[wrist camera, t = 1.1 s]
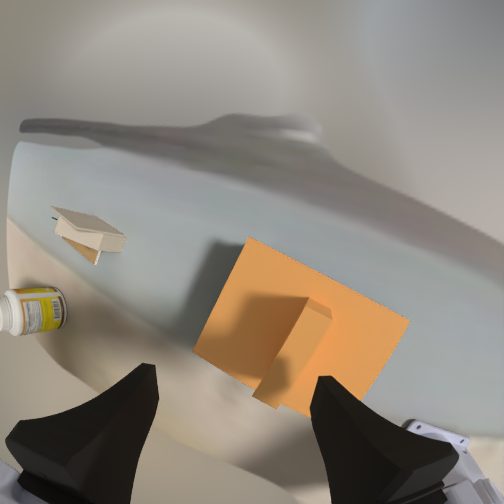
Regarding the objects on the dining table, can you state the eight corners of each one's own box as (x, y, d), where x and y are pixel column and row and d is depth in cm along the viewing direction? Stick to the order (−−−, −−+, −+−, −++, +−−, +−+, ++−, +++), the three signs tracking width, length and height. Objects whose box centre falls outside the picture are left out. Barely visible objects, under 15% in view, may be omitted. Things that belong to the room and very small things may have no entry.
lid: (403, 316, 17) (431, 334, 12) (337, 418, 18) (338, 461, 12) (255, 239, 20) (229, 228, 15) (202, 345, 21) (164, 367, 15)
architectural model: (119, 266, 27) (66, 264, 20) (84, 239, 29) (36, 233, 22) (130, 236, 27) (78, 228, 20) (93, 213, 29) (46, 202, 21)
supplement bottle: (43, 303, 30) (-14, 308, 20) (56, 278, 29) (-6, 278, 20) (59, 336, 29) (0, 347, 19) (73, 312, 28) (7, 321, 18)
